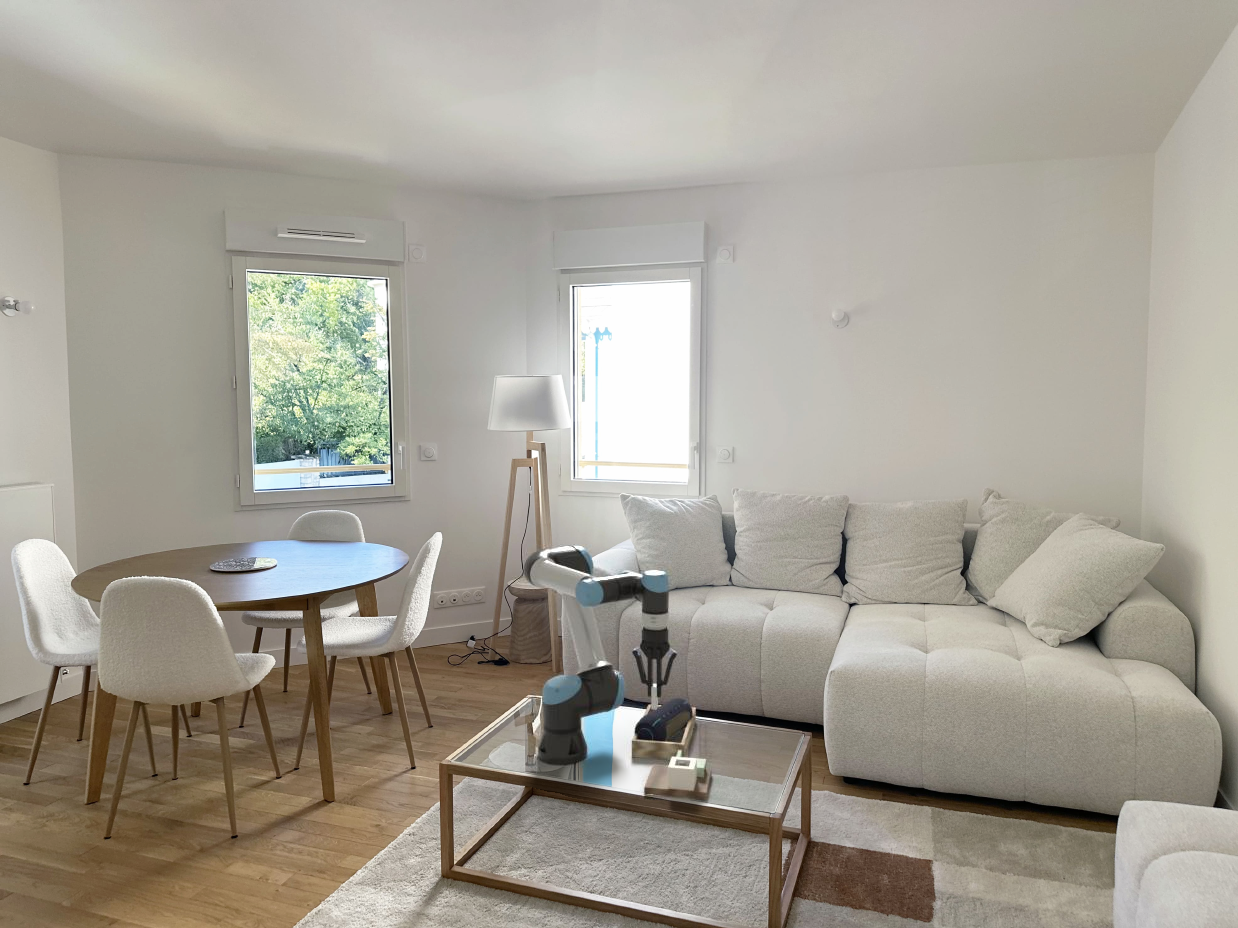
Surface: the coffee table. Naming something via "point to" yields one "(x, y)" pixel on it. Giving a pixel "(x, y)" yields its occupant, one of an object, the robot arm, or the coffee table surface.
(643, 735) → the portable speaker
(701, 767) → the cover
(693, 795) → the base plate
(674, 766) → the sleeve
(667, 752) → the open wooden box
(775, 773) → the coffee table surface
